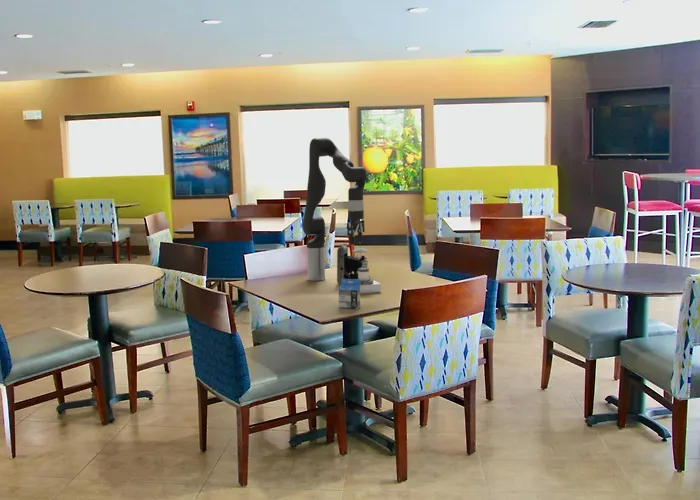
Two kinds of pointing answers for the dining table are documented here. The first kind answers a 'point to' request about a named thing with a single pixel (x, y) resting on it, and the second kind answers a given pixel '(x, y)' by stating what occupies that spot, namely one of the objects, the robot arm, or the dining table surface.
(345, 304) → the blue printed box
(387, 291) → the dining table surface
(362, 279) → the cream grey cylinder
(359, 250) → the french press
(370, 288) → the octagonal ring slab
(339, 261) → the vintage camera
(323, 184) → the robot arm
